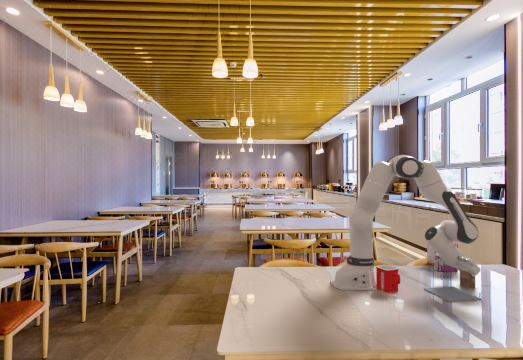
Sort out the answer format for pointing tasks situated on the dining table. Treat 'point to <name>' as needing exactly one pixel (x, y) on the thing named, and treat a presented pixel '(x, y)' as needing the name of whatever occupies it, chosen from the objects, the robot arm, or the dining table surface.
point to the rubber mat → (452, 294)
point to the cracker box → (430, 254)
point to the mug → (387, 278)
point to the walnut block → (467, 280)
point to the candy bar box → (443, 265)
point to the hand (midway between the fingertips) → (468, 273)
